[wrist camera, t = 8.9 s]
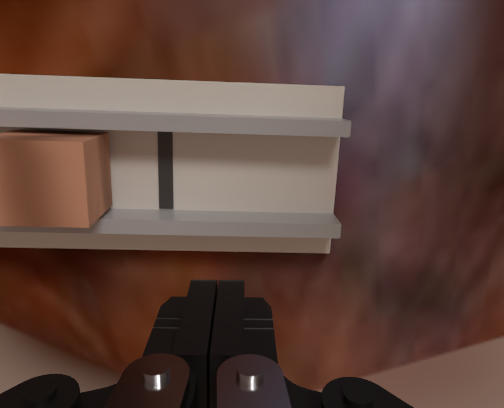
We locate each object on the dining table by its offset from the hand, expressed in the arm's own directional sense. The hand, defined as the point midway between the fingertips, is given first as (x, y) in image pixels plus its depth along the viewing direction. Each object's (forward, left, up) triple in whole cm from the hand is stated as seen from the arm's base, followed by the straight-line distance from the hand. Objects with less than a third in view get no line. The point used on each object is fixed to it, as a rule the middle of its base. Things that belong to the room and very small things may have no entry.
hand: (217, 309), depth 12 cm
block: (+11, 0, -19) cm, 22 cm away
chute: (+5, 0, -20) cm, 20 cm away
